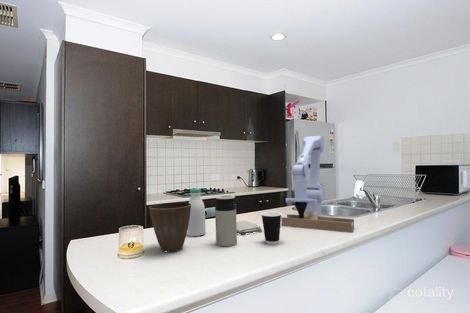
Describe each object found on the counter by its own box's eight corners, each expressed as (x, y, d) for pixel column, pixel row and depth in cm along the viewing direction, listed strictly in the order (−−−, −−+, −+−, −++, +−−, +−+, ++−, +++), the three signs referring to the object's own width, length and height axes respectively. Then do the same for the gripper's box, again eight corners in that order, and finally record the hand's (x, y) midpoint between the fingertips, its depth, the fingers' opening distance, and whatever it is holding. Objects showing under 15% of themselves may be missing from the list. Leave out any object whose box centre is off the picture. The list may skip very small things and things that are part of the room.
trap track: (281, 225, 132) (281, 217, 132) (287, 222, 140) (287, 214, 140) (351, 232, 116) (351, 223, 116) (354, 227, 124) (353, 219, 124)
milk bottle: (207, 235, 118) (206, 188, 118) (189, 238, 115) (188, 189, 115) (202, 231, 125) (201, 187, 125) (186, 233, 122) (184, 188, 123)
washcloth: (240, 237, 116) (240, 229, 116) (222, 228, 132) (222, 222, 132) (264, 232, 122) (264, 225, 122) (243, 225, 138) (243, 219, 138)
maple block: (304, 221, 128) (304, 213, 128) (307, 219, 133) (307, 211, 133) (315, 222, 126) (315, 213, 126) (317, 220, 130) (317, 211, 130)
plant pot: (147, 257, 92) (146, 209, 92) (152, 244, 107) (151, 203, 107) (193, 253, 95) (191, 207, 95) (191, 241, 110) (190, 201, 110)
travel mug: (239, 241, 108) (238, 195, 109) (233, 247, 101) (232, 198, 101) (220, 240, 110) (218, 195, 111) (213, 246, 103) (211, 197, 103)
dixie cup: (285, 244, 102) (284, 214, 103) (264, 246, 101) (263, 216, 101) (279, 238, 110) (278, 211, 110) (259, 240, 109) (258, 212, 109)
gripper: (283, 190, 132) (284, 218, 132) (313, 190, 125) (314, 221, 124) (288, 188, 138) (289, 215, 138) (317, 189, 131) (318, 218, 130)
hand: (301, 218), depth 131 cm, fingers closed
